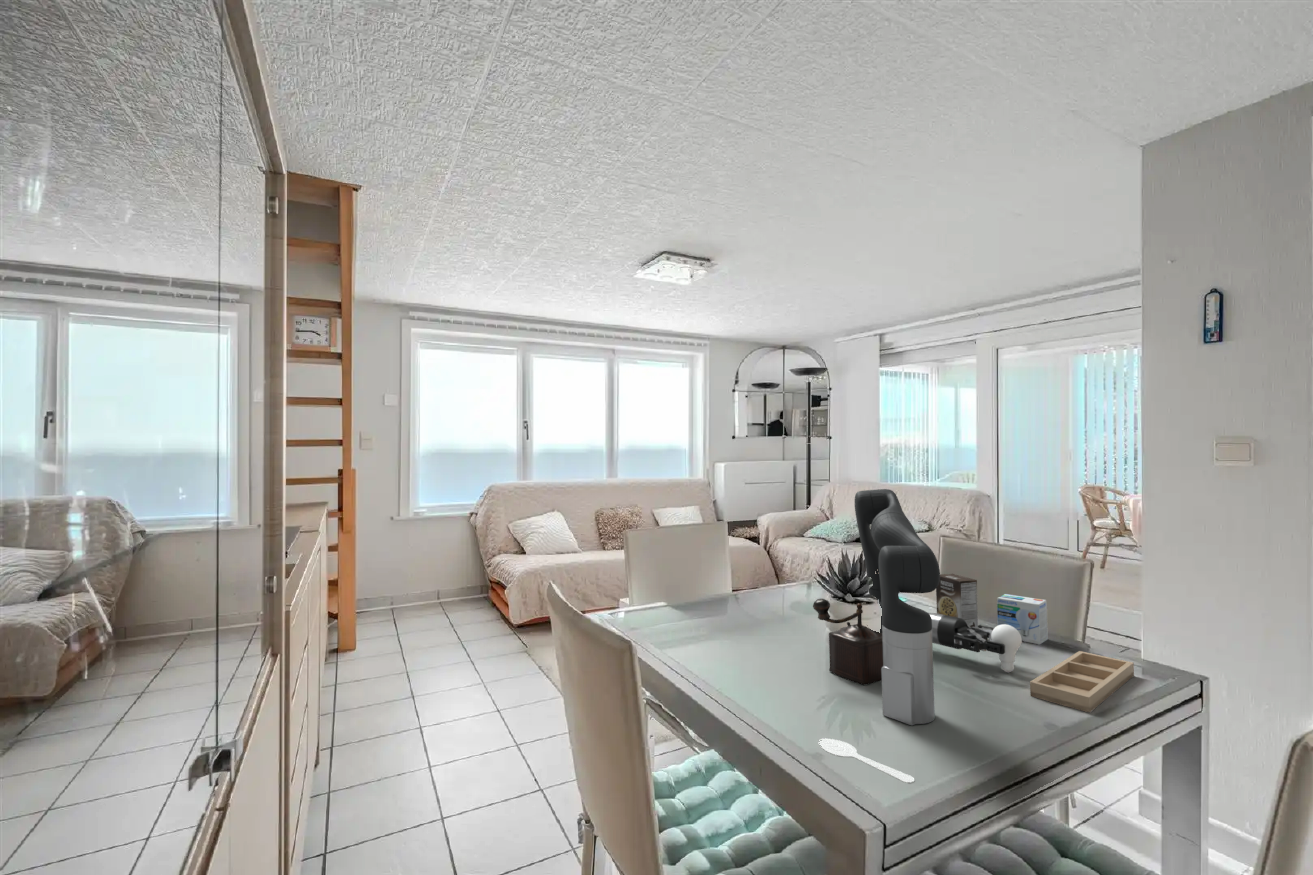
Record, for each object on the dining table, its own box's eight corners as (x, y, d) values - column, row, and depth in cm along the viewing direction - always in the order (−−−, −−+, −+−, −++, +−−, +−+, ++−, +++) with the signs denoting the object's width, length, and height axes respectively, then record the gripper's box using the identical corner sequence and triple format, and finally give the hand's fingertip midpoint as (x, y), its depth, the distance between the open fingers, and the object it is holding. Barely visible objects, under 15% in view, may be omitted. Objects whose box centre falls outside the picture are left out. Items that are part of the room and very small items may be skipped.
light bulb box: (996, 636, 165) (995, 597, 165) (1005, 631, 169) (1004, 593, 170) (1041, 645, 157) (1039, 604, 157) (1048, 639, 161) (1047, 599, 162)
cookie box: (936, 630, 171) (934, 574, 171) (954, 628, 173) (952, 572, 173) (961, 640, 162) (959, 580, 162) (979, 637, 164) (977, 579, 164)
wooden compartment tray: (1089, 712, 117) (1089, 697, 117) (1030, 696, 125) (1029, 681, 125) (1134, 675, 135) (1133, 662, 135) (1079, 663, 143) (1079, 650, 143)
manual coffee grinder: (856, 662, 147) (854, 589, 147) (894, 676, 137) (892, 598, 138) (810, 675, 139) (808, 598, 139) (848, 691, 129) (845, 608, 130)
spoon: (904, 789, 92) (904, 786, 92) (810, 745, 106) (810, 742, 106) (922, 778, 95) (922, 774, 95) (828, 737, 110) (828, 734, 110)
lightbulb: (1027, 677, 135) (1025, 629, 135) (997, 676, 136) (996, 628, 136) (1016, 668, 141) (1015, 621, 141) (988, 666, 142) (987, 620, 142)
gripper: (928, 620, 146) (998, 635, 133) (956, 609, 155) (1024, 623, 142) (929, 650, 146) (999, 669, 133) (956, 638, 155) (1025, 654, 142)
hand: (1012, 645), depth 138 cm, fingers open, 8 cm apart
